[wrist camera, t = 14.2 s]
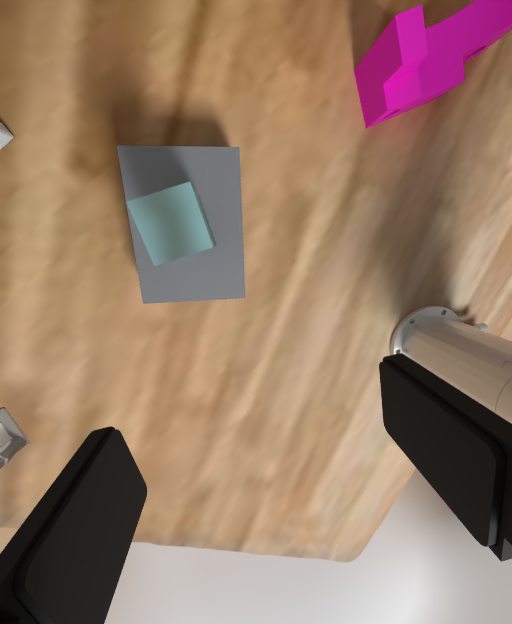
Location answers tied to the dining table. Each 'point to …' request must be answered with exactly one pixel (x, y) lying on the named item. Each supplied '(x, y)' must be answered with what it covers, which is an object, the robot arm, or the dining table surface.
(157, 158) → the plinth
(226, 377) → the dining table surface
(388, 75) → the toy block
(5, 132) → the tea box
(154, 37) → the dining table surface
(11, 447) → the skyscraper
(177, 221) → the teal block
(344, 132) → the dining table surface
